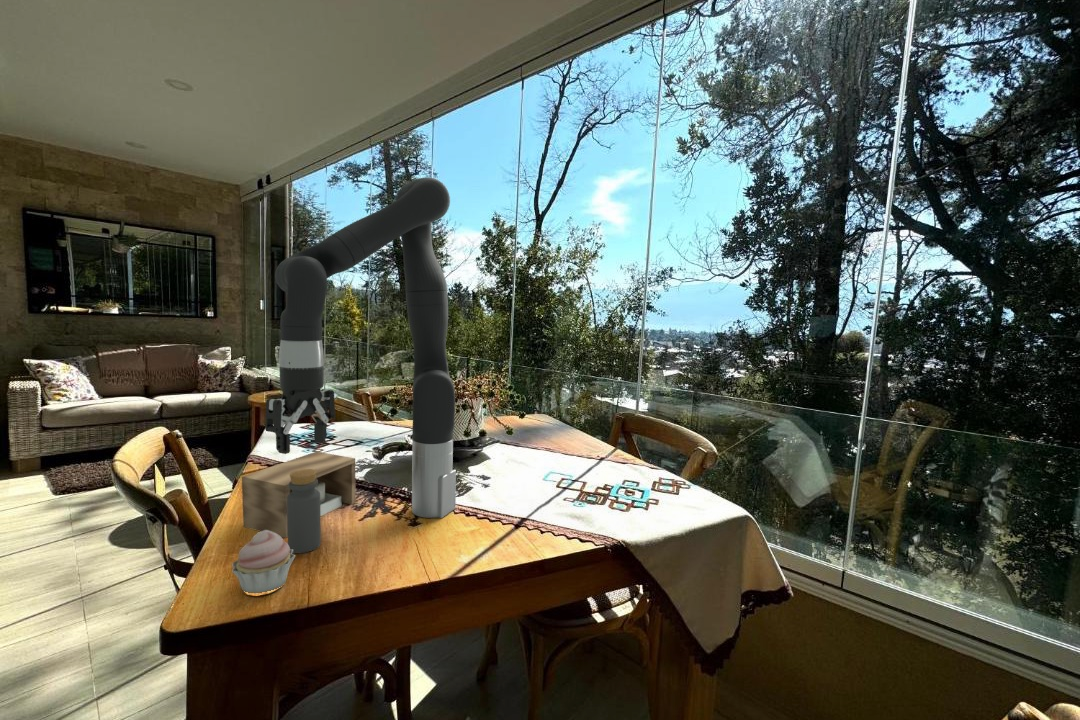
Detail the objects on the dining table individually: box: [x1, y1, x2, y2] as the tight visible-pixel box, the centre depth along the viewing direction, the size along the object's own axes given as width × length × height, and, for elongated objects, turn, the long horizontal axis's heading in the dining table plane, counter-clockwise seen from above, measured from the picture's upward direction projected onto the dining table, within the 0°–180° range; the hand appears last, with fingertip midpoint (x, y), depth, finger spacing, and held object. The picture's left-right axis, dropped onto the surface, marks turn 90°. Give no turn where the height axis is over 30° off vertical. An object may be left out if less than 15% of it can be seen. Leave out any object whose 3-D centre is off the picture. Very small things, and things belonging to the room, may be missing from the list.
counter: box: [241, 451, 357, 539], centre depth 109 cm, size 12×20×11 cm, turn 160°
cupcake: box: [231, 530, 296, 593], centre depth 81 cm, size 9×9×10 cm
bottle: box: [287, 469, 322, 554], centre depth 95 cm, size 6×6×15 cm
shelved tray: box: [290, 482, 343, 517], centre depth 109 cm, size 8×14×6 cm, turn 160°
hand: (302, 447), depth 93 cm, fingers open, 8 cm apart
